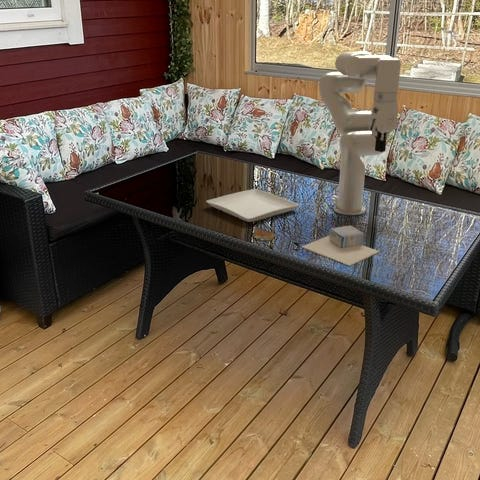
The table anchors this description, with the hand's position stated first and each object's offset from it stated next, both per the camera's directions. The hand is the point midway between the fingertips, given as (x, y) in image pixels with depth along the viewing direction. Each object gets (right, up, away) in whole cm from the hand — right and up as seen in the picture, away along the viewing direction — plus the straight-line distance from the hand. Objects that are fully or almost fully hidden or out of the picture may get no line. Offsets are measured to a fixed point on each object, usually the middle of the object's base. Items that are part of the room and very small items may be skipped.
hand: (379, 150), depth 190 cm
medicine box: (-8, -29, -1) cm, 30 cm away
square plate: (-43, -19, +31) cm, 57 cm away
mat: (-15, -34, -6) cm, 38 cm away
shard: (-41, -30, +5) cm, 51 cm away
